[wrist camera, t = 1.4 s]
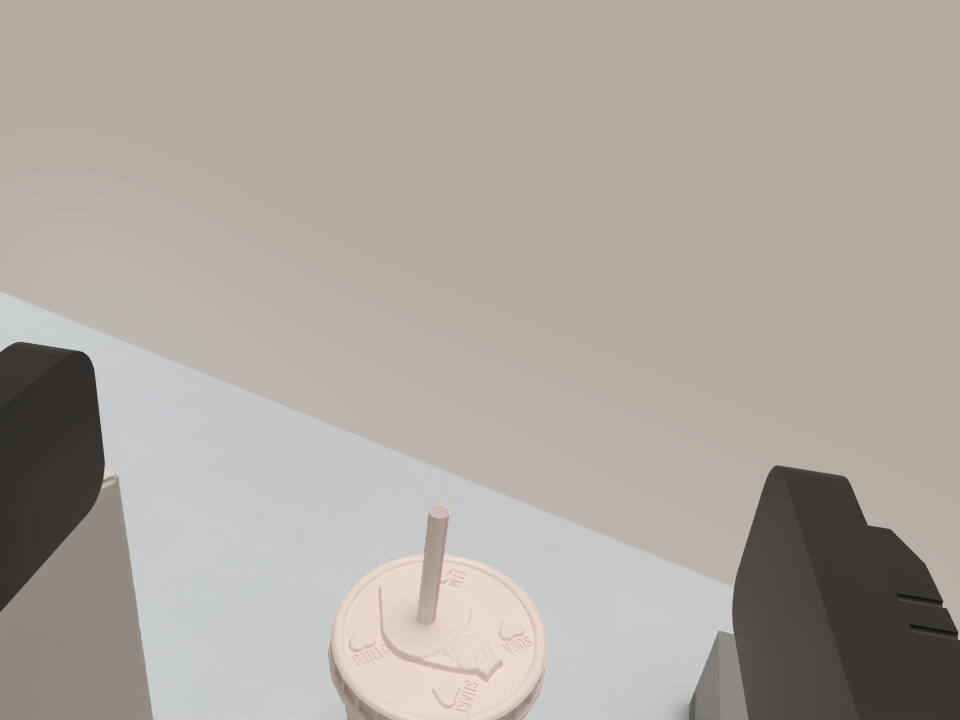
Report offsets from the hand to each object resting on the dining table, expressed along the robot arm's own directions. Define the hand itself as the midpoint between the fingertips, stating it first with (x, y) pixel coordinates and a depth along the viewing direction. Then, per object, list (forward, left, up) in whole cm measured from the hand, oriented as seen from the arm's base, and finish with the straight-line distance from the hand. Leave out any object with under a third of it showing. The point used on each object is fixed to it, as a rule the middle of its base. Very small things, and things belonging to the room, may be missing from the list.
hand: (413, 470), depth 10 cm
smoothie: (-1, +9, -24) cm, 25 cm away
